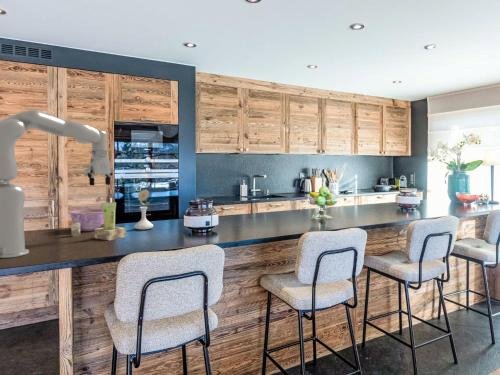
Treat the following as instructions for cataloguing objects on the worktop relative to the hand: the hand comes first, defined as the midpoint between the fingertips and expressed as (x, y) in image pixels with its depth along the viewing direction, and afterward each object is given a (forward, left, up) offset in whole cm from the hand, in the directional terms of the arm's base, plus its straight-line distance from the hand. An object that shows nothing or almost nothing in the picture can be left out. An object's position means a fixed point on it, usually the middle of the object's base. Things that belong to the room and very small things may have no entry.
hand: (100, 185), depth 194 cm
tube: (+2, -4, -29) cm, 30 cm away
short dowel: (-4, +16, -29) cm, 34 cm away
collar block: (+3, -4, -29) cm, 29 cm away
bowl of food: (+11, +26, -29) cm, 41 cm away
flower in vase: (+30, -2, -29) cm, 42 cm away
